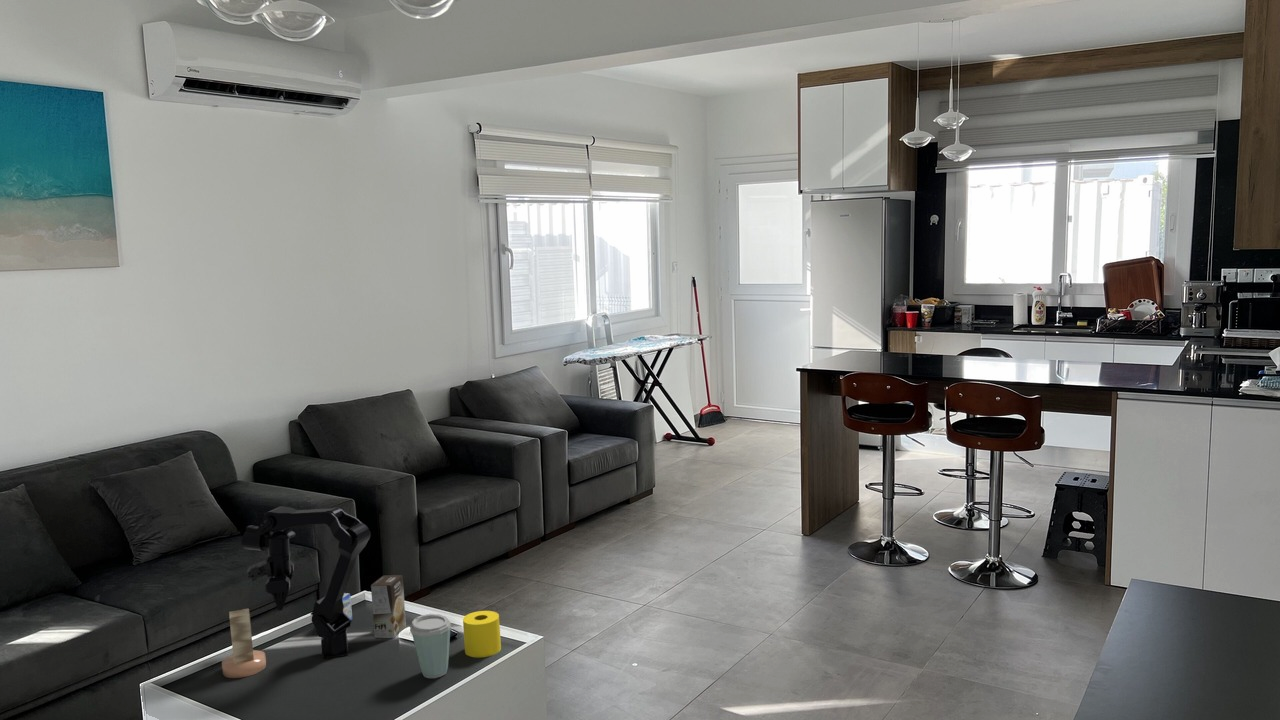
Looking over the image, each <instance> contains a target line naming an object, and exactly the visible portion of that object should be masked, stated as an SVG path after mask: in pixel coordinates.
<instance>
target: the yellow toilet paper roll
mask: <svg viewBox="0 0 1280 720" xmlns="http://www.w3.org/2000/svg"><path fill="white" fill-rule="evenodd" d="M462 624H463V625H462V627H463V642H464V653H465V655H466V656H468V657H471V658H486V657H491V656H494V655H495V654H498V653H499V652H500V651H501V650H502V641H501V640H502V639H501V627H500V614H499V613H498V612H497V611H491V610H479V611H473V612H470V613H468V614H466V615H465V616H464V617H463V618H462Z"/></svg>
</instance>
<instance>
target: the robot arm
mask: <svg viewBox="0 0 1280 720" xmlns="http://www.w3.org/2000/svg"><path fill="white" fill-rule="evenodd" d="M312 525H313V526H315V525H327V526H328V527H329V530H330V531H331V534H332V536H333V537H334V538H335V539H336V541H337V542H338V543H337V547H338V548H337V549H338V552H339V556H338V558H337V561H336V564H335V567H334V570H333V572H332V576H331V578H330V581H329V584H328V587H327V589H326V593H325V595H324V596H322V598H319V599H318V600H316V601H315V602H314V604H313V610H312V612H311V613H310V615H311V623H312V624H313V626H314V629H315V631H316V633H317V636H318V638H321V640H320V645H321V646H320V647H321V654H322V655H323V659H330V658H336V657H337V656H338V657H343V656H342V655H345V656H348V655H349V648H348V647H349V644H348V633H347V632H348V631H347V629H348V628H350V627H351V624H352V620H351V619H350V618H349V617H348V616H347V615H346V614H345V613H344V612H343V609H344V604H343V600H342V599H343V595H344V593H346V589H347V586H348V585H349V584H348V583H349V580H350V577H351V575H352V572H353V569H354V567H355V563H356V561H357V558H358V556H359V555H360V554H361V552H362V551H363V550H364V548H366V546H367V544H368V541H369V540H370V538H371V535H372V534H371V531H370V529H369V527H368V526H367V525H366V524H365V523H363V522H362V521H360V519H358V518H357V517H355V516H353V515H351V514H349V513H347V512H345V511H344V510H343V509H342V508H340V507H337V506H334V507H332V508H330V507H329V508H314V509H295V508H294V507H291V506H290V507H289V506H284V505H283V506H282V505H281V506H278V507H276V508H274V509H271V510H270V511H266V512H265V513H264V514H263V516H262V521H261V523H260V524H259V526H257V525H253V524H251V525H248V526H245V532H244V533H243V534H242V538H241V540H240V541H241V547H242V548H243V549H245V550H252V551H253V550H254V551H260V552H261V551H263V552H264V551H266V550H267V558H266V559H265V560H262V561H260V562H257V563H254V564H252V565H250V566H249V567H248V568H247V570H246V573H247V577H248V578H249V579H250V581H251V582H254V581H256V580H257V579H261V578H262V577H265V576H266V577H267V578H268V579H267V580H266V582H265V585H264V586H265V589H264V590H265V592H266V593H267V594H270V595H271V596H272V597H273V600H274V603H275V606H276V608H277V611H279V612H280V611H283V609H284V606H285V602H286V601H287V597H288V594H289V593H290V588H291V580H292V578H293V576H294V571H295V564H294V563H295V562H293V561H292V560H291V551H290V539H291V538H294V537H295V536H296V532H294V531H293V530H291V528H290V527H294V526H295V527H296V526H312ZM342 525H343V526H345V527H347V528H344V527H343V526H342ZM332 625H333V626H332ZM338 657H337V658H338Z"/></svg>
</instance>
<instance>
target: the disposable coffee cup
mask: <svg viewBox="0 0 1280 720" xmlns="http://www.w3.org/2000/svg"><path fill="white" fill-rule="evenodd" d="M451 627H452V622H451V621H450V619H449V618H447V616H445V615H442V614H439V613H428V614H421V615H420V616H419V615H418V616H416V617H415V618H414V619H413V620H412V621H411V626H410V628H409V632H410V633H411V636H412V639H413V644H414V647H415V650H416V655H417V659H418V664H419V667H420V671H421V673H422V675H423V677H424V678H427V679H437V678H441V677H443V676H445V675H446V674H447V672H448V669H449V656H450V639H451Z"/></svg>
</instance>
